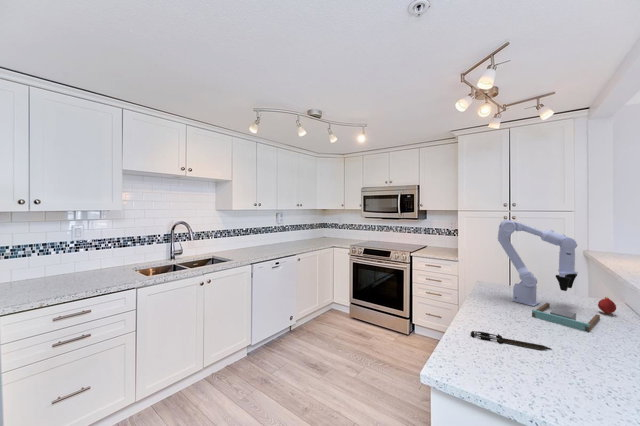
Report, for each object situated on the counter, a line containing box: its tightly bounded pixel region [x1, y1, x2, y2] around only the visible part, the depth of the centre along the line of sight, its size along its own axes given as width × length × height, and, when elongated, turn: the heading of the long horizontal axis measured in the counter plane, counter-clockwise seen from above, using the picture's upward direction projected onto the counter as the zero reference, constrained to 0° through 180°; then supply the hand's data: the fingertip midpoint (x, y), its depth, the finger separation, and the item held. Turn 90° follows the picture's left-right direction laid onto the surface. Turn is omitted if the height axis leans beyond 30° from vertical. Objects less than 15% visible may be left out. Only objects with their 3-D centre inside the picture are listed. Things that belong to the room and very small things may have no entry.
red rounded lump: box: [597, 296, 617, 315], centre depth 126 cm, size 6×6×8 cm
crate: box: [549, 308, 577, 321], centre depth 119 cm, size 7×8×4 cm
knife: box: [470, 330, 553, 351], centre depth 101 cm, size 25×6×1 cm, turn 57°
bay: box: [531, 302, 601, 333], centre depth 122 cm, size 19×20×3 cm
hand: (566, 289), depth 134 cm, fingers open, 7 cm apart
